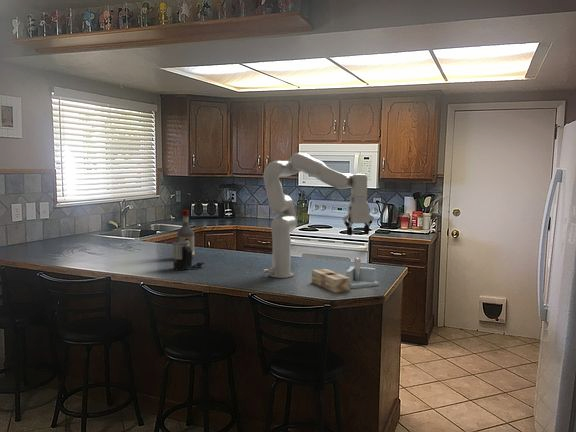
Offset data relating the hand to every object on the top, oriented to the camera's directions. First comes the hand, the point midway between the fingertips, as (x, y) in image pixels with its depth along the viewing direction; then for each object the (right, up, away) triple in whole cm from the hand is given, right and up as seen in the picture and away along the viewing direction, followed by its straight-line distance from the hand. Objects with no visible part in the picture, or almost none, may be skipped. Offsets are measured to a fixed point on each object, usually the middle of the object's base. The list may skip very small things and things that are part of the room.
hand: (357, 234), depth 233 cm
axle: (0, -23, +2) cm, 23 cm away
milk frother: (-89, -20, +34) cm, 98 cm away
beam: (-14, -25, -4) cm, 29 cm away
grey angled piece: (0, -24, +1) cm, 24 cm away
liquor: (-97, -18, +62) cm, 116 cm away
